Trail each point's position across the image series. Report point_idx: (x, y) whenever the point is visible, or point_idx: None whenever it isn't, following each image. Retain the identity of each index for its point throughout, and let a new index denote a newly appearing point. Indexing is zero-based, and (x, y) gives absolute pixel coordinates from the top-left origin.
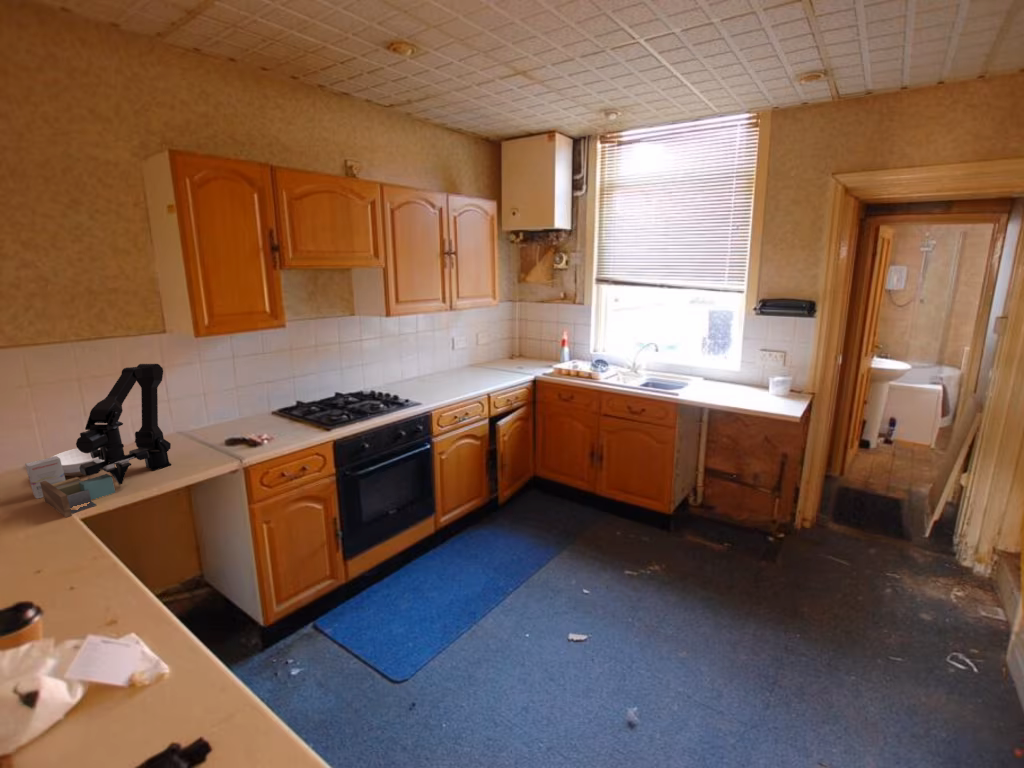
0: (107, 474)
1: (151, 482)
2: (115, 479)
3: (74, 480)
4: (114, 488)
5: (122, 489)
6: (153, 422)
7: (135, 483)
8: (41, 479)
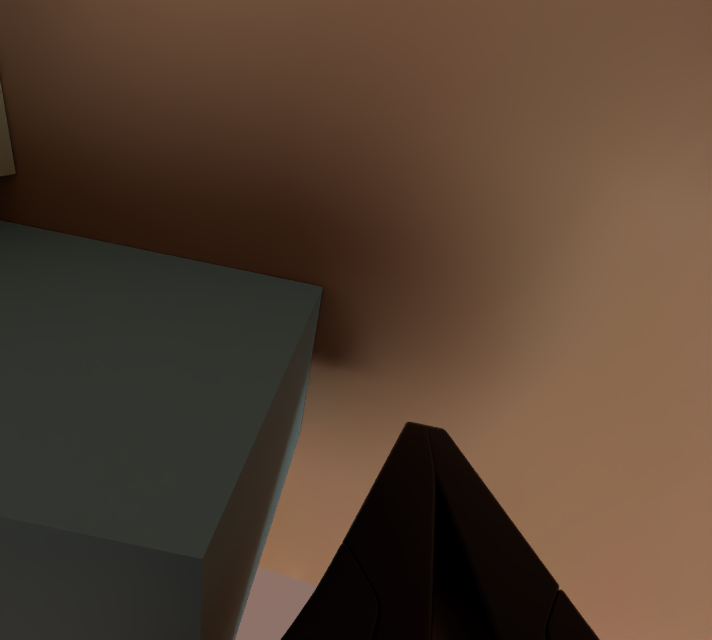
0: (185, 613)
1: (682, 558)
2: (370, 495)
3: None
4: (285, 478)
5: (401, 427)
6: None
7: (620, 415)
8: None
